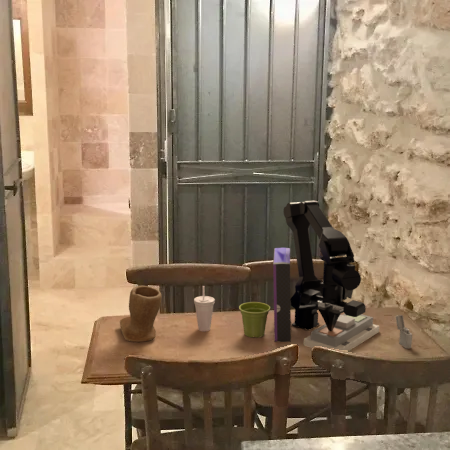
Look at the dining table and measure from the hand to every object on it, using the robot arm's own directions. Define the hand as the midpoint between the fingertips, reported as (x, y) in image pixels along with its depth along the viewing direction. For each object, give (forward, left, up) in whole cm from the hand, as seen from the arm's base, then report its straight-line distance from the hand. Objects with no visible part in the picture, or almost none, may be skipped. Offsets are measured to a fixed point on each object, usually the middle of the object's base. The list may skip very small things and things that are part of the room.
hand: (330, 330), depth 192 cm
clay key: (0, 0, -3) cm, 3 cm away
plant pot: (-22, -8, -5) cm, 24 cm away
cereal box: (-17, 0, -5) cm, 17 cm away
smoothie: (-36, -15, -5) cm, 39 cm away
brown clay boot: (-47, -30, -5) cm, 56 cm away
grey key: (0, +7, -1) cm, 7 cm away
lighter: (+15, +15, -5) cm, 22 cm away
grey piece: (0, +7, -5) cm, 8 cm away
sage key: (0, +14, -2) cm, 14 cm away
